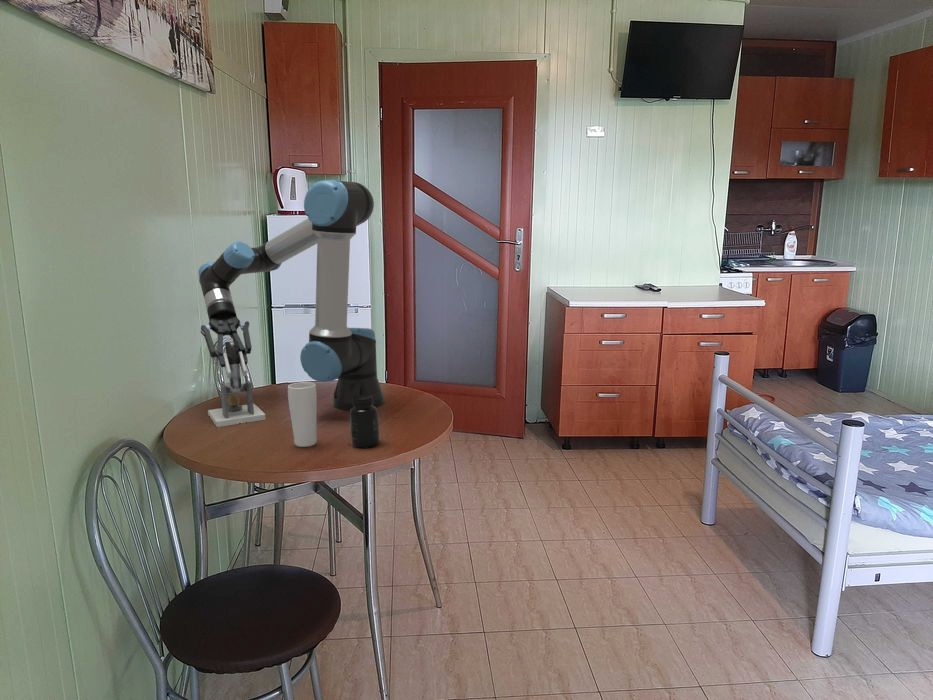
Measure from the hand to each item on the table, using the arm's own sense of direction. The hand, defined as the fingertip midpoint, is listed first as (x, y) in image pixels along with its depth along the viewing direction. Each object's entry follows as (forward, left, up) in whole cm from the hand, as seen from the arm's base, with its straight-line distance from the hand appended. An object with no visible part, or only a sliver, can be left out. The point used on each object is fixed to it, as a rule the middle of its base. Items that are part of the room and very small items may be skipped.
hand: (237, 374), depth 185 cm
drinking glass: (-29, +10, -14) cm, 33 cm away
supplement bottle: (-43, +5, -14) cm, 45 cm away
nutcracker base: (+5, -4, -14) cm, 15 cm away
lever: (+5, -4, -6) cm, 8 cm away
